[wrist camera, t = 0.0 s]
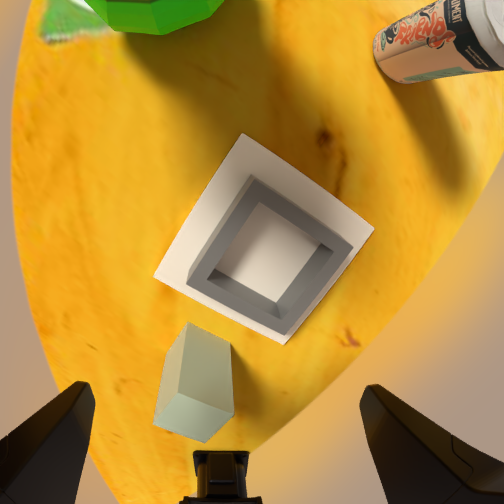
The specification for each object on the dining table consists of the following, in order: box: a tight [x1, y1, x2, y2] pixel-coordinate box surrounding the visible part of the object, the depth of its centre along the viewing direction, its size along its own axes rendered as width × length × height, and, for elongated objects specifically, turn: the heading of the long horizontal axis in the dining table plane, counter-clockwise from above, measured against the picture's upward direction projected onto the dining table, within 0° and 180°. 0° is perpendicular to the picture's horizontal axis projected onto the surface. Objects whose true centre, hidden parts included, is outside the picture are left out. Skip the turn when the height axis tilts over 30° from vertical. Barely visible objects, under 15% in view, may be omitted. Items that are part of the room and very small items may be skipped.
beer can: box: [373, 0, 504, 84], centre depth 13 cm, size 5×5×12 cm
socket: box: [153, 133, 375, 345], centre depth 22 cm, size 12×12×3 cm
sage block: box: [153, 322, 234, 443], centre depth 22 cm, size 4×4×8 cm
